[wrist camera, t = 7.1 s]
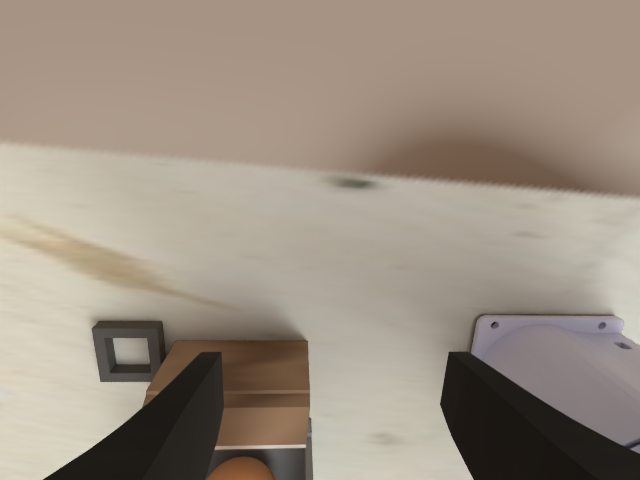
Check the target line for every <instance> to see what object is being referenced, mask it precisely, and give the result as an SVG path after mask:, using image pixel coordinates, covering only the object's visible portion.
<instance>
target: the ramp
mask: <svg viewBox="0 0 640 480" xmlns="http://www.w3.org/2000/svg"><path fill="white" fill-rule="evenodd" d="M201 352H222V373H223V394H224V410H223V415H222V420H221V425H220V430H219V435H218V440H217V443H216V447H215V450H222V449H274V448H306V439H307V430H308V420H309V410H310V384H309V362H308V341H175V343H174V345H173V347H172V348H171V350H170V352H169V353H168V355H167V357H166V358H165V360H164V362H163V363H162V365H161V367H160V369H159V370H158V372H157V374H156V375H155V377H154V379H153V380H152V382H151V384H150V386H149V387H148V389H147V391H146V398H145V401H144V404H143V407H144V406H145V405H146V404H148V403H149V402H150V401H151V400H152V399H153V398H154V397H155V396H156V395H157V394H159V393H160V392H161V391H162V390H163V389H164V388H165V387H166V386H167V385H168V384H169V383H170V382H171V381H172V380H173V379H174V378H175V377H176V376H177V375H178V374H179V373H180V372H181V371H182V370H183V369H184V368H185V367H186V366H187V365H188V364H189V363H190V362H191V361H192V360H193V359H194V358H195V357H196V356H198V355H199V354H200V353H201ZM143 407H142V408H143Z"/></svg>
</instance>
